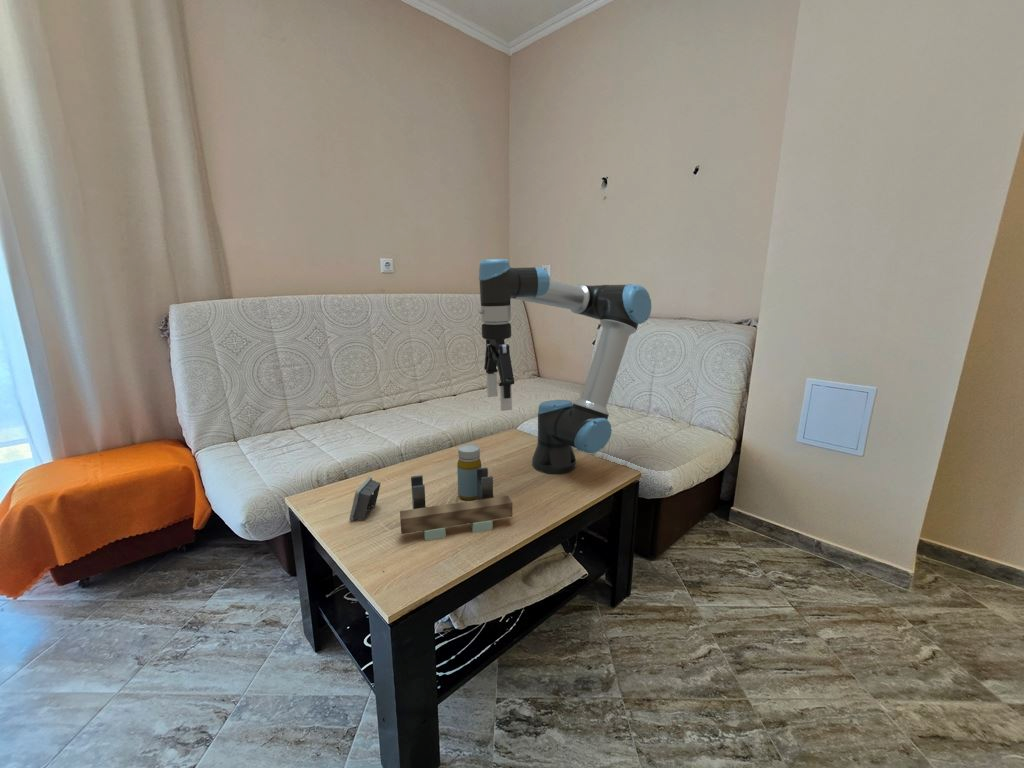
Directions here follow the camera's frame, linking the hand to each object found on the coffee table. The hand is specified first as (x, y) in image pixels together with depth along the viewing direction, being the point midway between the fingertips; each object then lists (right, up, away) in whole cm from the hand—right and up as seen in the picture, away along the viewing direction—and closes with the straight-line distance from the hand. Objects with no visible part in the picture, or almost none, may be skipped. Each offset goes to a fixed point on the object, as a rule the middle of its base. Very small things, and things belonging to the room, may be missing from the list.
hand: (499, 402), depth 111 cm
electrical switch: (-37, -31, +4) cm, 48 cm away
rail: (-10, -30, -5) cm, 32 cm away
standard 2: (-4, -30, +6) cm, 31 cm away
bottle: (-9, -28, +14) cm, 33 cm away
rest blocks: (-10, -32, -4) cm, 34 cm away
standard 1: (-21, -31, +1) cm, 38 cm away
